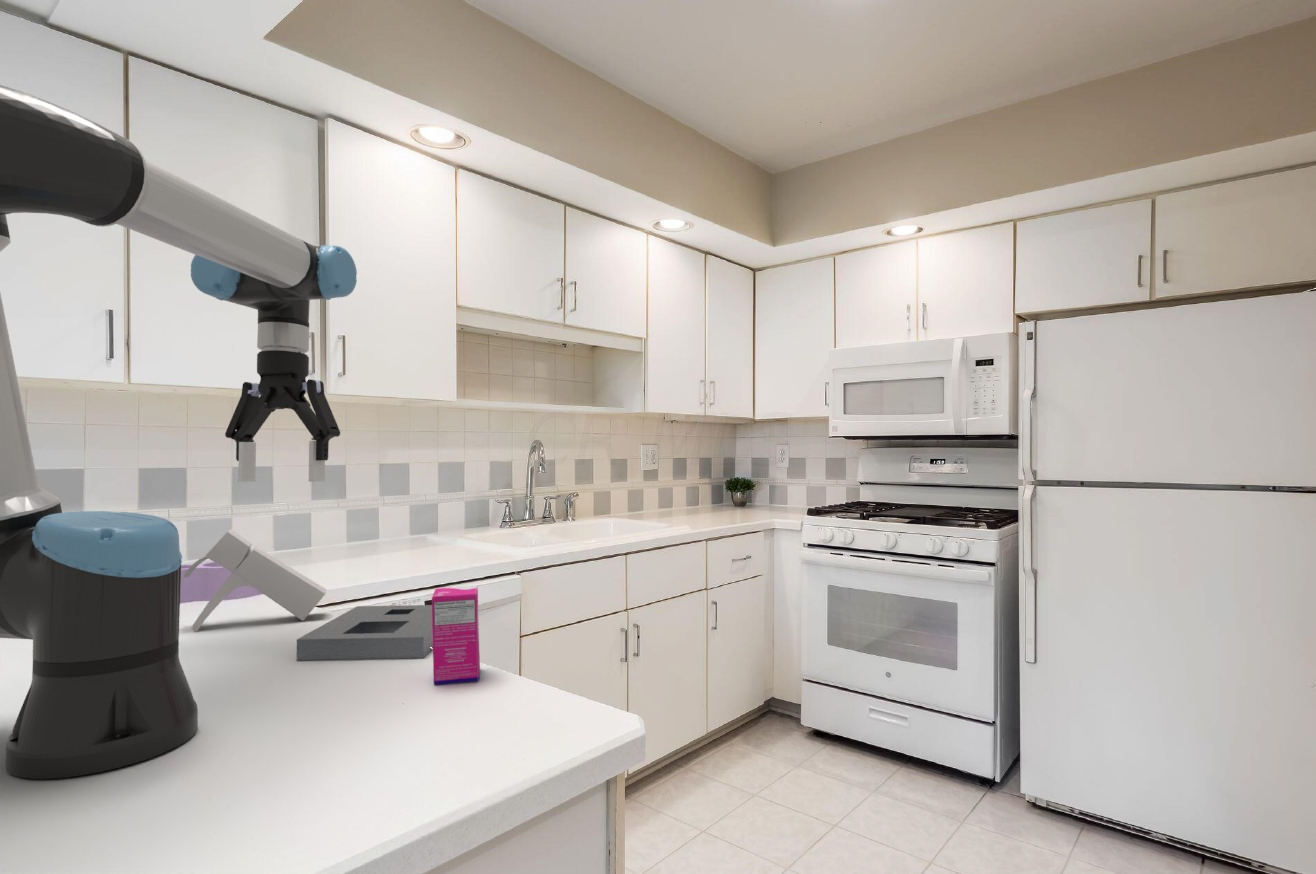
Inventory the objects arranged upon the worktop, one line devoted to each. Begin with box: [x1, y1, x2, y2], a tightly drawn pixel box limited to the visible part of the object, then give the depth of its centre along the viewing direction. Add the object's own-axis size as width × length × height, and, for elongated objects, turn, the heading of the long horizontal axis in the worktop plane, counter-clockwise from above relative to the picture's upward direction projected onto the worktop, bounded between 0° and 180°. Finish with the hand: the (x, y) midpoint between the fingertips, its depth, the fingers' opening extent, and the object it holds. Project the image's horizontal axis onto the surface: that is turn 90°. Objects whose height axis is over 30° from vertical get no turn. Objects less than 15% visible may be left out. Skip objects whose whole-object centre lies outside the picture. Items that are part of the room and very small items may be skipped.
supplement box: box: [431, 585, 481, 686], centre depth 91 cm, size 6×6×12 cm
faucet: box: [183, 528, 327, 633], centre depth 122 cm, size 6×16×20 cm
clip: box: [180, 560, 264, 604], centre depth 147 cm, size 20×12×7 cm, turn 124°
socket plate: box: [296, 604, 433, 662], centre depth 111 cm, size 22×18×3 cm
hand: (281, 481), depth 113 cm, fingers open, 13 cm apart
